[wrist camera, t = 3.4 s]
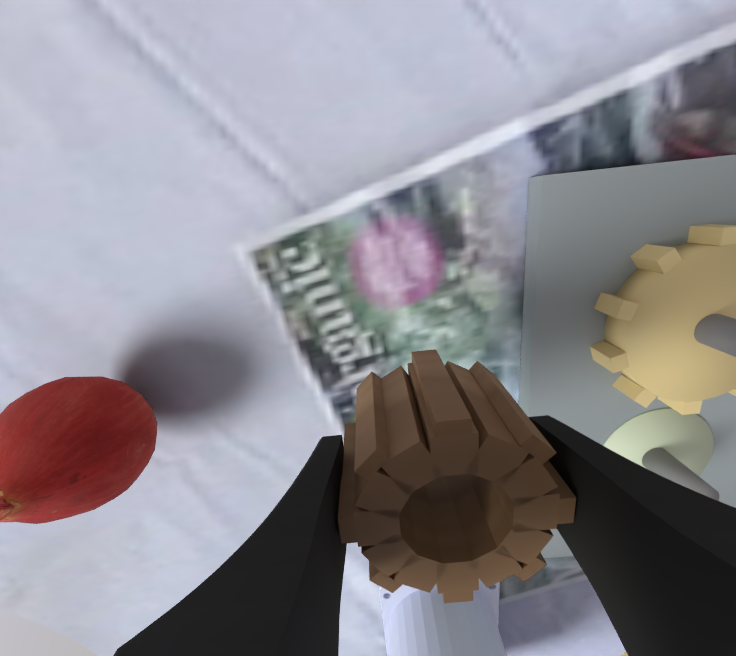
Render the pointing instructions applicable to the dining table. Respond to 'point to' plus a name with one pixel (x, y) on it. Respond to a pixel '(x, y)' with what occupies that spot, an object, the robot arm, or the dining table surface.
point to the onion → (72, 448)
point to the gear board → (599, 262)
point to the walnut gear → (447, 481)
